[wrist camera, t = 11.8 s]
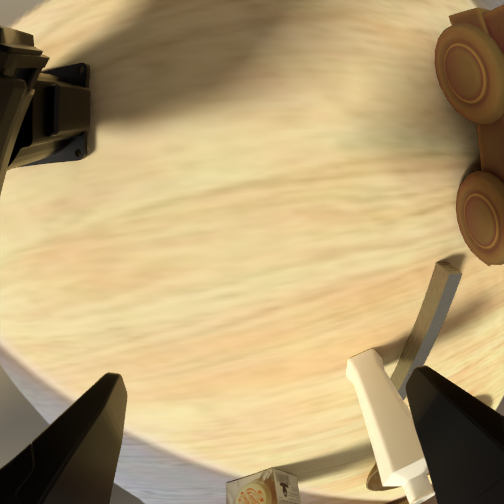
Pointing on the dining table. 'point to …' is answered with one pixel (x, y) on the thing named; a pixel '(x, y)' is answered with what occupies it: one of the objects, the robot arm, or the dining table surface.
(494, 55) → the wooden toy train
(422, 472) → the cream angular vase
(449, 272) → the rail
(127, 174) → the dining table surface
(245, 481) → the coffee box
